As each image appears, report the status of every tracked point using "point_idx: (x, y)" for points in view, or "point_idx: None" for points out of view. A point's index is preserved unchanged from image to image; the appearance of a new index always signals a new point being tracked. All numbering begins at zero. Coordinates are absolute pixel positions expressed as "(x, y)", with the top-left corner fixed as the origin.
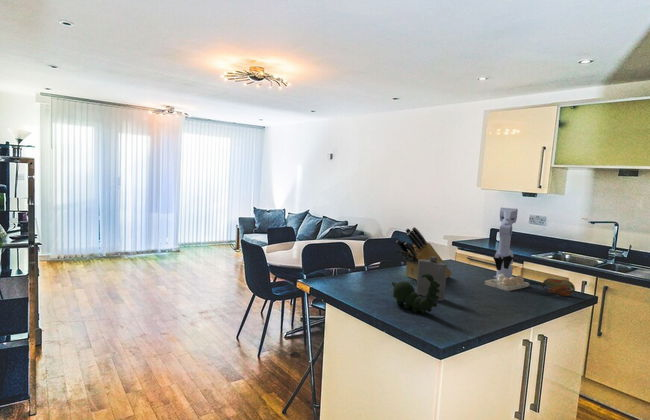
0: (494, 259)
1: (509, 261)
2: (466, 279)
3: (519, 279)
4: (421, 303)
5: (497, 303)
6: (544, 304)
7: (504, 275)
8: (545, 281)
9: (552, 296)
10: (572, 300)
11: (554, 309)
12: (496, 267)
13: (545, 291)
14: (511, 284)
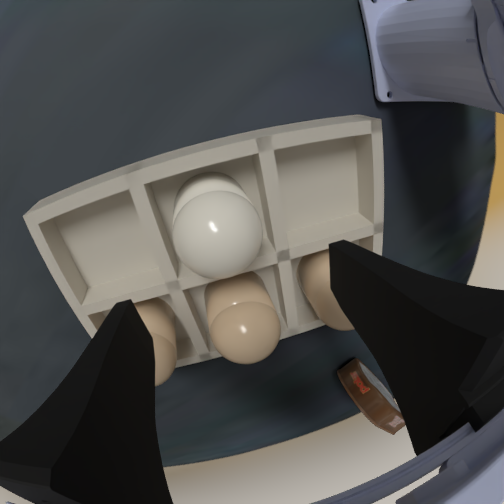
0: (21, 443)
1: (393, 388)
2: (21, 11)
3: (322, 320)
4: None
5: (11, 418)
6: (173, 448)
7: (235, 273)
8: (362, 405)
9: (307, 398)
10: (326, 419)
11: (168, 464)
12: (104, 326)
13: (337, 371)
14: (199, 336)
